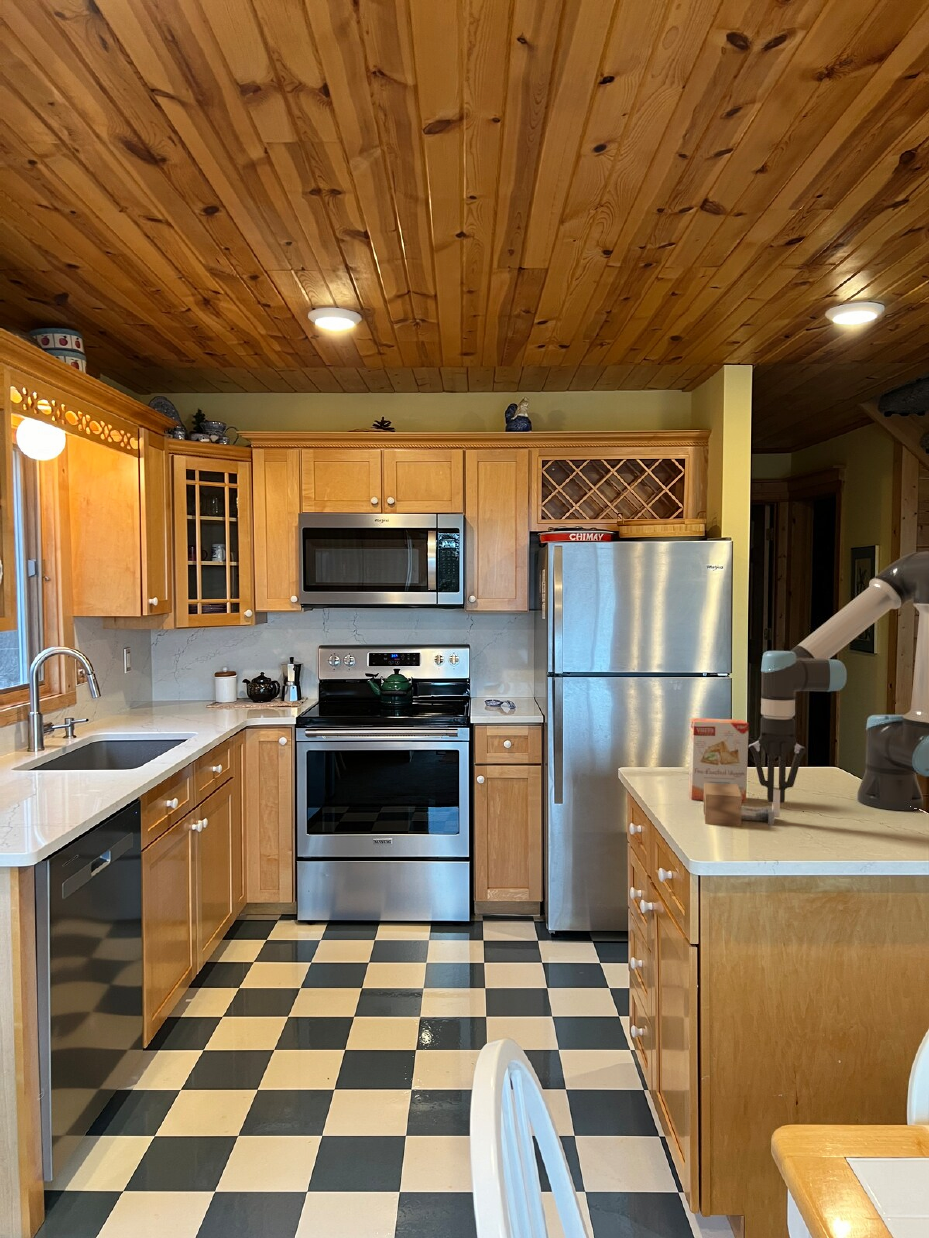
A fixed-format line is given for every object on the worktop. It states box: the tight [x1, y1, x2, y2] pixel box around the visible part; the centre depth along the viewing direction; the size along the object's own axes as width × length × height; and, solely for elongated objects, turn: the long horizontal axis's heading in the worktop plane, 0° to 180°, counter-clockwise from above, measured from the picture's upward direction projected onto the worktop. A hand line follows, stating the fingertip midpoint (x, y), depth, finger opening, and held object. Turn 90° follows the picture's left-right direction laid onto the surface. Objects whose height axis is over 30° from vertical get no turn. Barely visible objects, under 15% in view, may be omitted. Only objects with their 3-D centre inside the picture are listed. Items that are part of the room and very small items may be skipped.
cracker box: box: [688, 717, 749, 803], centre depth 219 cm, size 14×6×21 cm, turn 83°
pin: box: [741, 805, 775, 826], centre depth 200 cm, size 13×6×3 cm, turn 76°
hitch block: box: [702, 783, 743, 827], centre depth 201 cm, size 8×12×7 cm, turn 166°
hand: (775, 815), depth 198 cm, fingers closed
